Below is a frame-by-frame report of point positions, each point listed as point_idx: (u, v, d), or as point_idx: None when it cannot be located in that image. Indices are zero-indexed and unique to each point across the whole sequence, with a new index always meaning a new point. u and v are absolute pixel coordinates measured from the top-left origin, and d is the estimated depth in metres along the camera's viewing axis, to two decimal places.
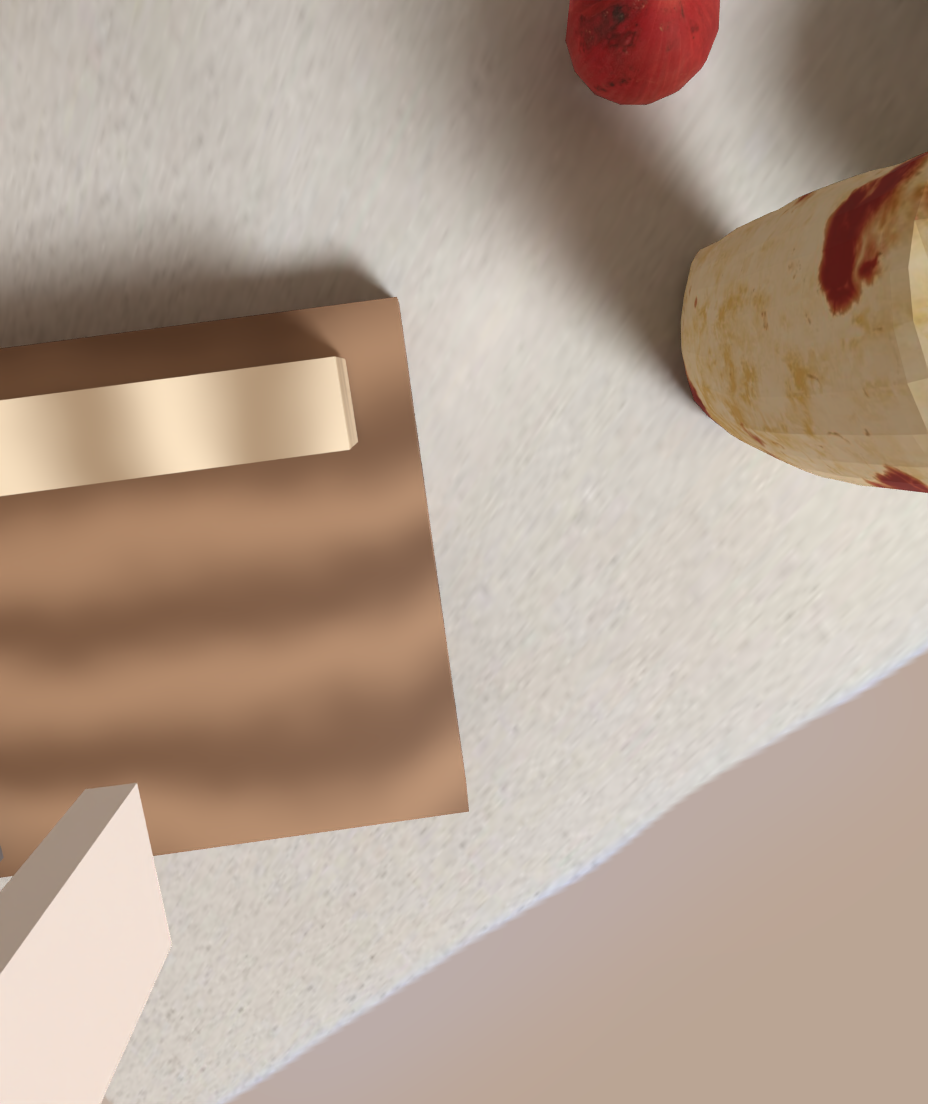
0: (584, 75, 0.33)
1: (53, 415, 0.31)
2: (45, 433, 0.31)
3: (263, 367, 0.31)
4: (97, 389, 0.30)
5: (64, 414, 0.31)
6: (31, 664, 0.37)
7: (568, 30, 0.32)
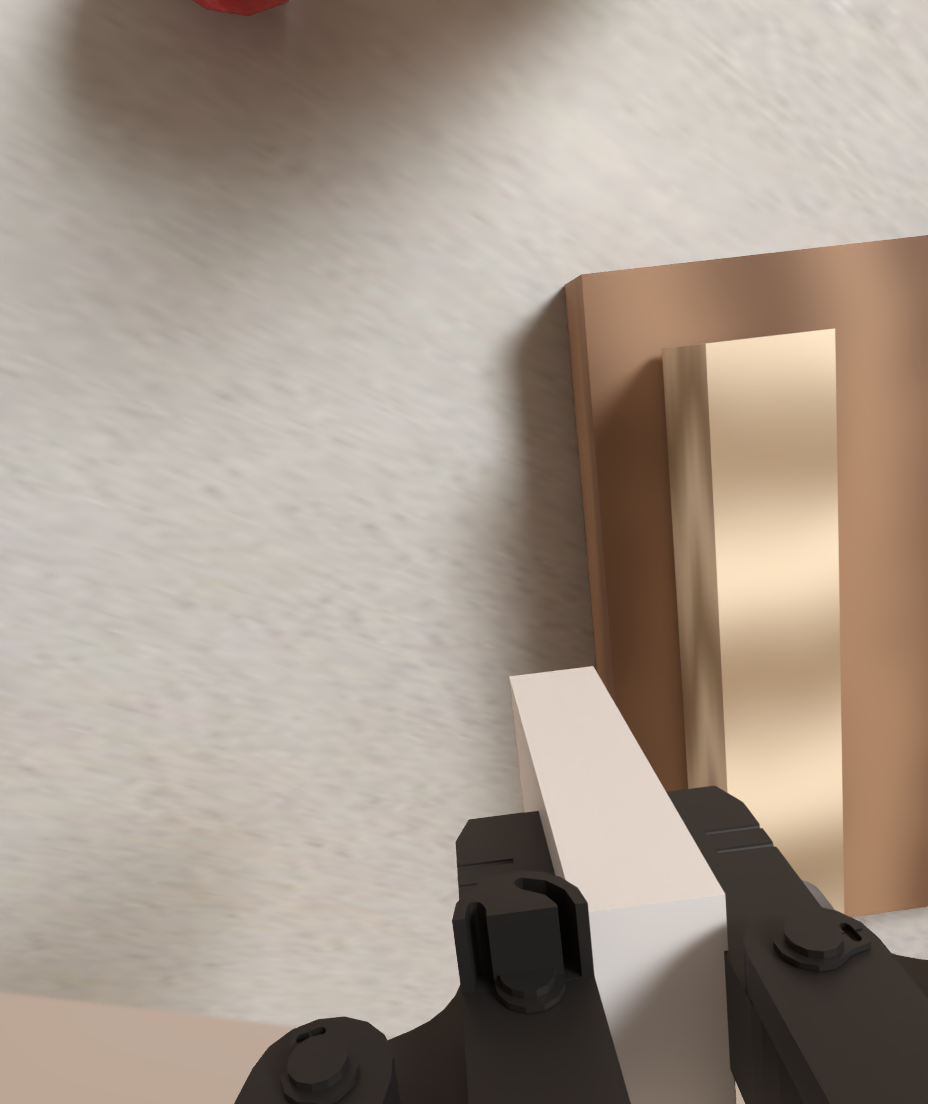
0: None
1: (750, 714, 0.24)
2: (771, 727, 0.24)
3: (713, 444, 0.22)
4: (723, 660, 0.24)
5: (749, 702, 0.24)
6: None
7: (243, 1, 0.23)
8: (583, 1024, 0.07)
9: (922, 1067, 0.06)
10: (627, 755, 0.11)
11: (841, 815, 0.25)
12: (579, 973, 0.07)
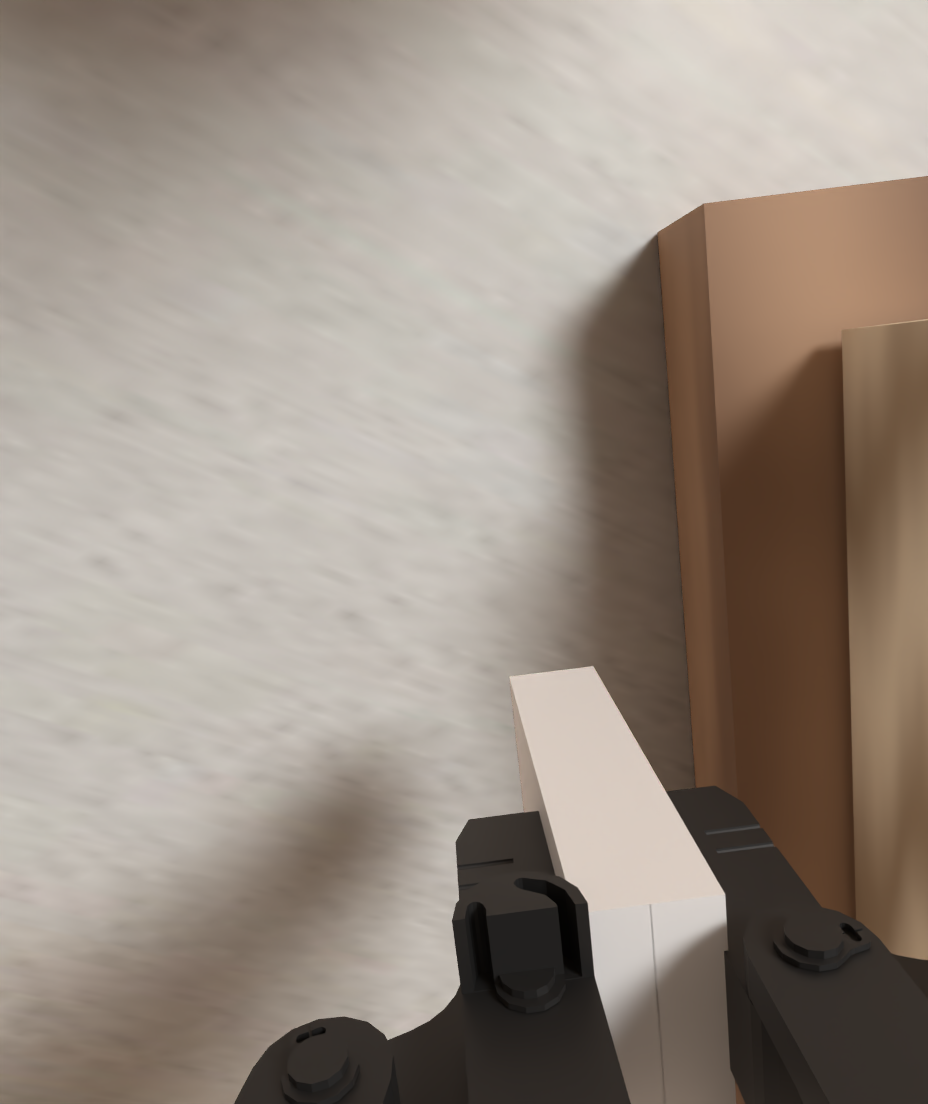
0: None
1: None
2: None
3: None
4: None
5: None
6: None
7: None
8: (583, 1024, 0.07)
9: (924, 1066, 0.06)
10: (627, 755, 0.11)
11: None
12: (579, 973, 0.07)
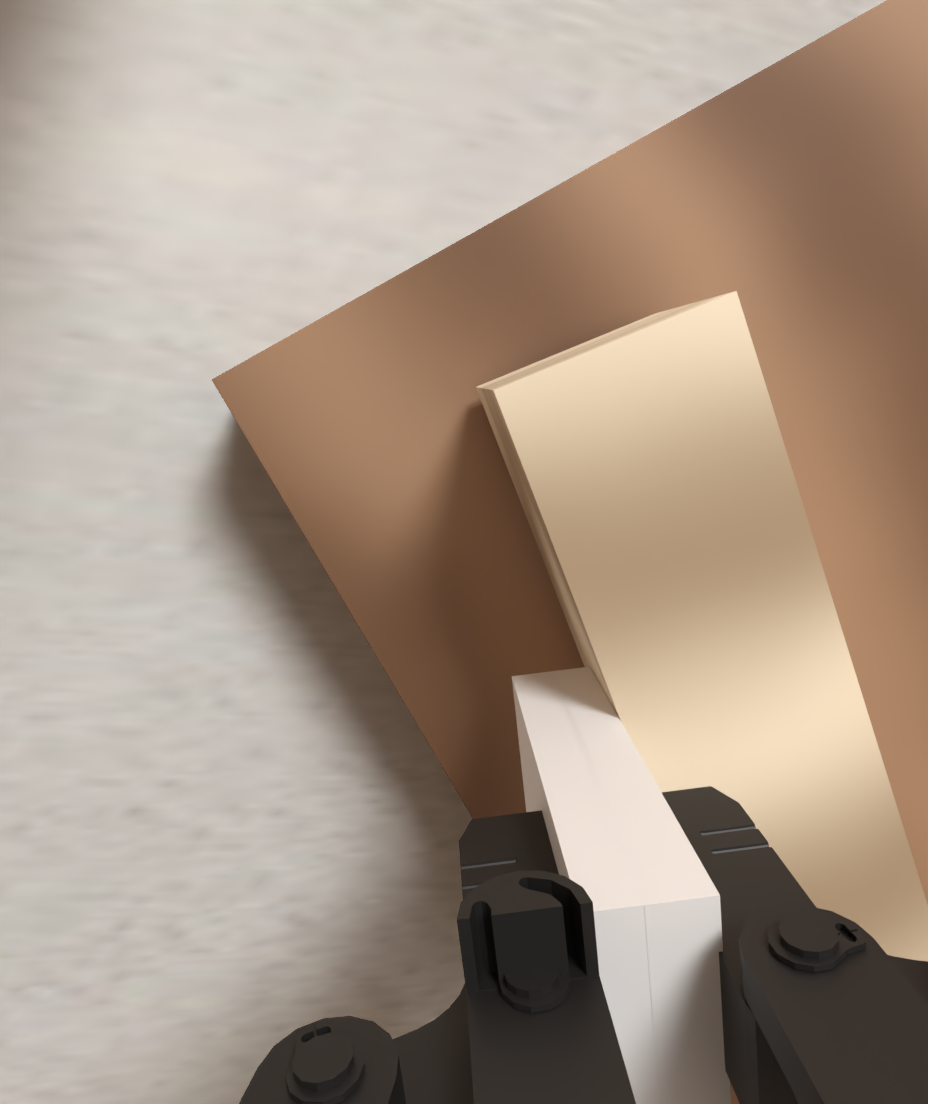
0: None
1: None
2: None
3: (566, 568, 0.12)
4: None
5: None
6: None
7: None
8: (588, 1023, 0.07)
9: (919, 1069, 0.06)
10: (622, 755, 0.11)
11: None
12: (584, 972, 0.07)
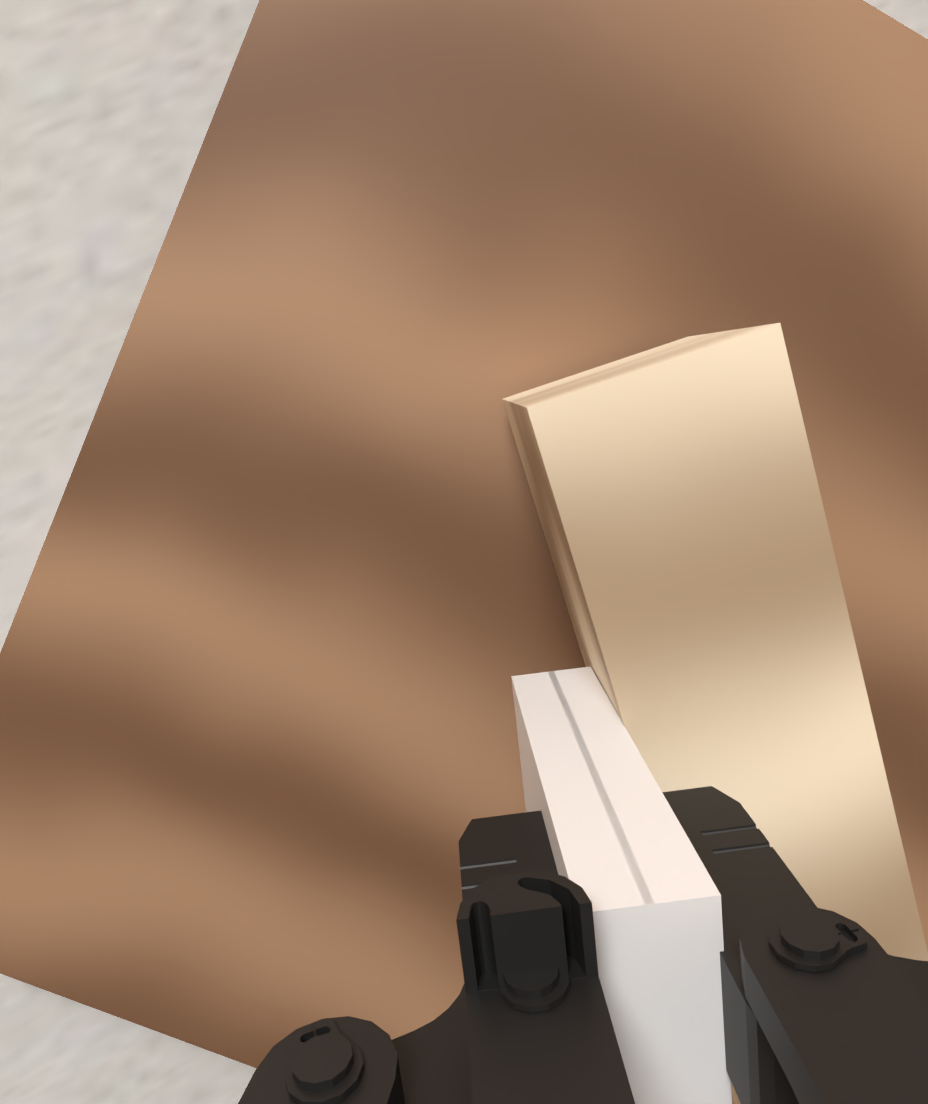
0: None
1: None
2: None
3: (588, 592, 0.11)
4: None
5: None
6: None
7: None
8: (587, 1024, 0.07)
9: (919, 1068, 0.06)
10: (623, 755, 0.11)
11: None
12: (583, 973, 0.07)
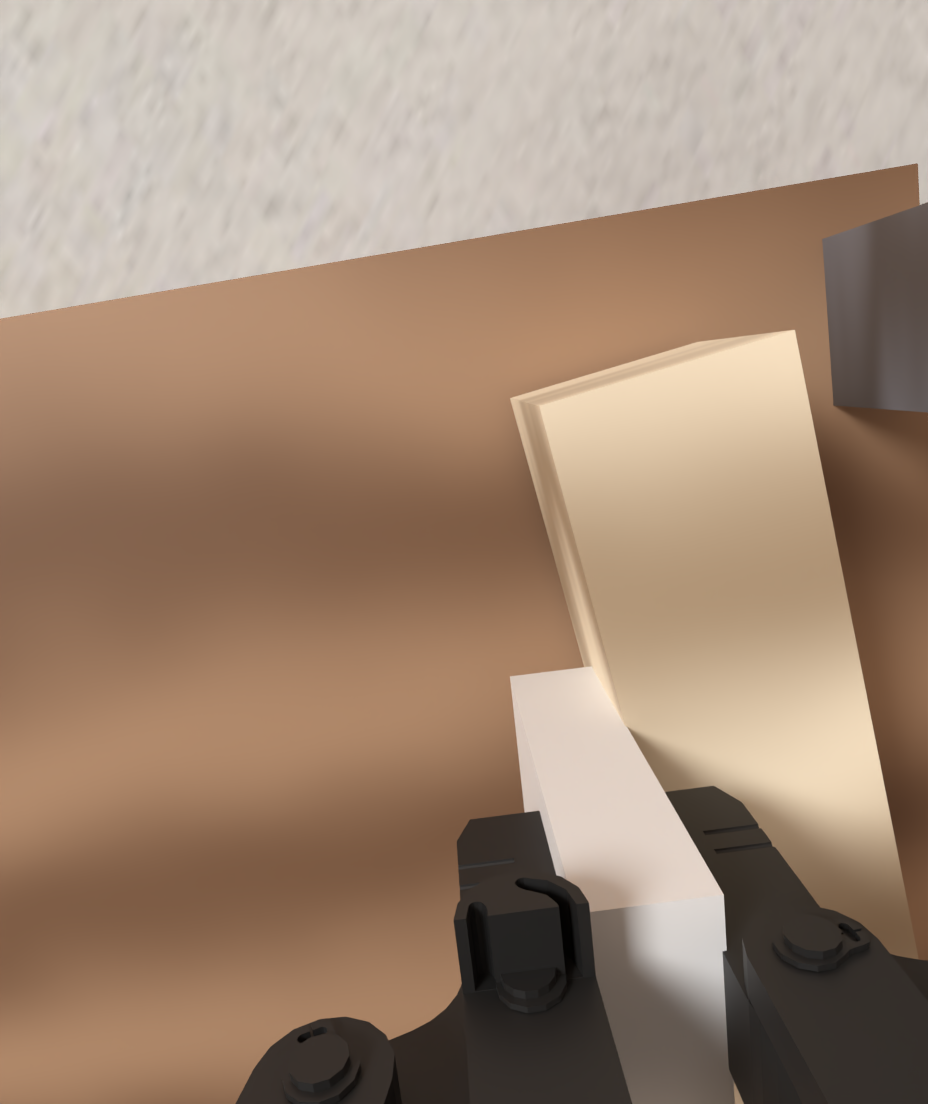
0: None
1: None
2: None
3: (594, 593, 0.11)
4: None
5: None
6: None
7: None
8: (584, 1024, 0.07)
9: (922, 1068, 0.06)
10: (626, 755, 0.11)
11: None
12: (580, 973, 0.07)
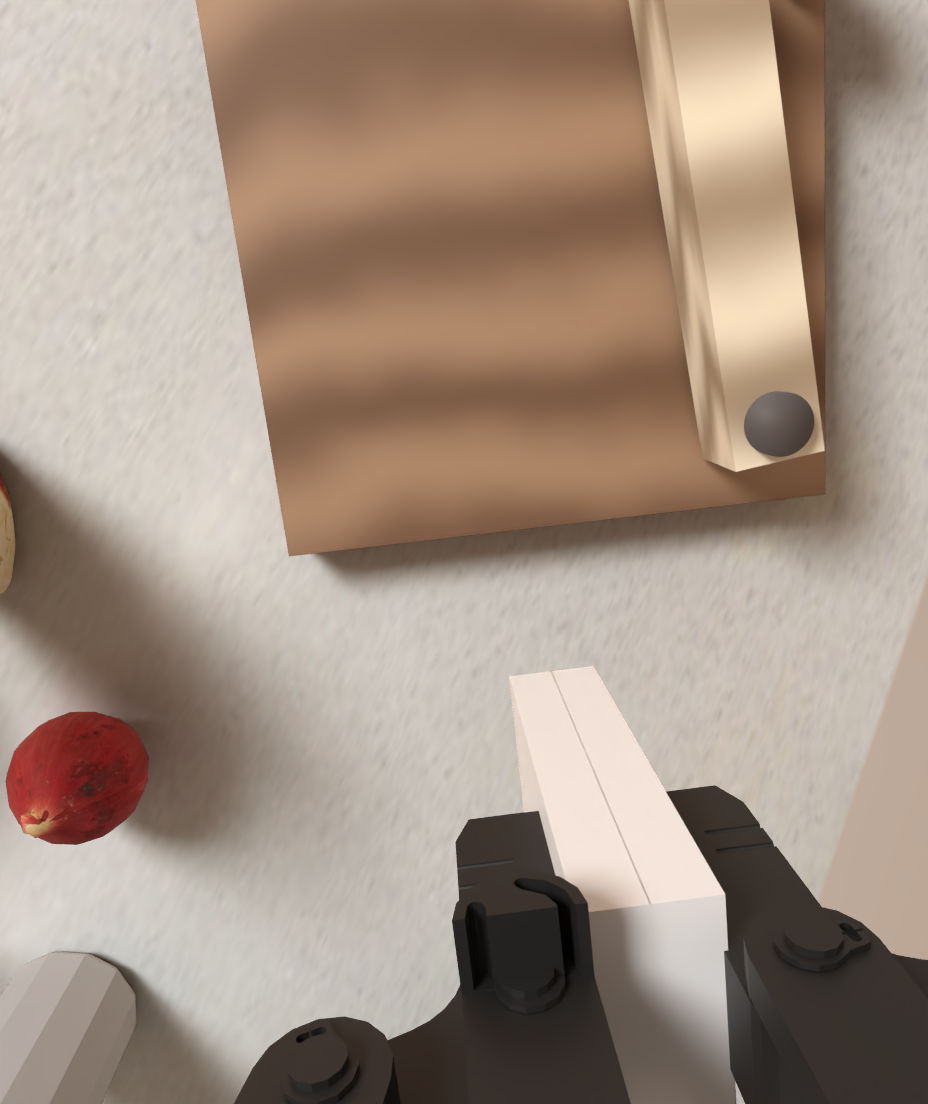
0: (125, 735, 0.38)
1: (723, 244, 0.30)
2: (742, 253, 0.30)
3: (666, 4, 0.28)
4: (696, 196, 0.29)
5: (721, 233, 0.30)
6: None
7: (141, 768, 0.38)
8: (583, 1024, 0.07)
9: (923, 1068, 0.06)
10: (627, 755, 0.11)
11: (808, 329, 0.30)
12: (579, 973, 0.07)
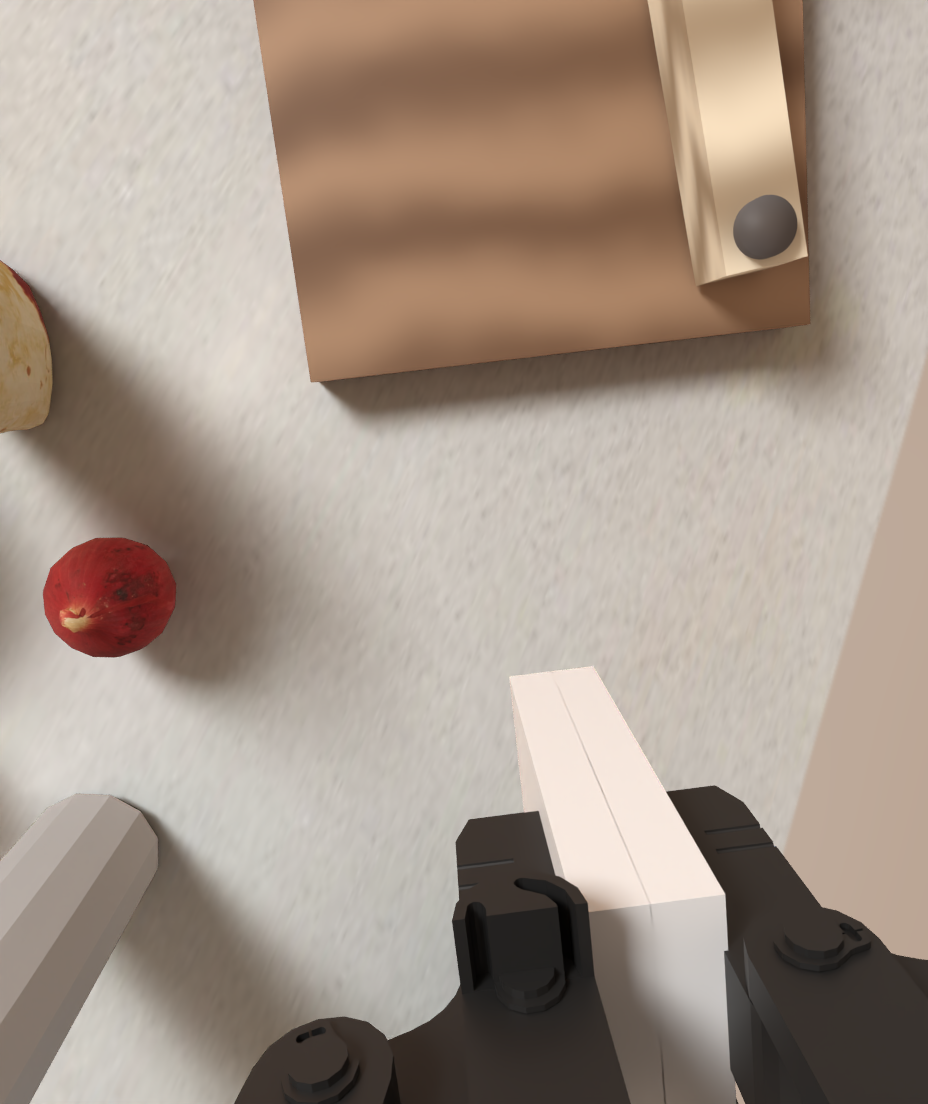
0: (155, 557, 0.40)
1: (711, 58, 0.33)
2: (728, 67, 0.33)
3: None
4: (686, 12, 0.32)
5: (709, 47, 0.33)
6: None
7: (170, 588, 0.40)
8: (583, 1024, 0.07)
9: (924, 1067, 0.06)
10: (627, 755, 0.11)
11: (790, 139, 0.33)
12: (579, 973, 0.07)
